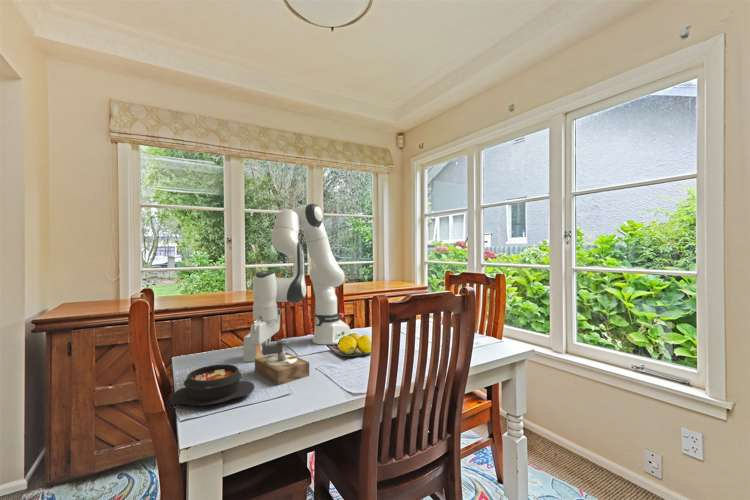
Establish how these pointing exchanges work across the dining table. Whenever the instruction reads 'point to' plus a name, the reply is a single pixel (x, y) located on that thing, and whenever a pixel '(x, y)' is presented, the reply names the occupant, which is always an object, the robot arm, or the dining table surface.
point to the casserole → (212, 386)
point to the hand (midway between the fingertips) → (265, 349)
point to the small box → (251, 350)
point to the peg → (276, 350)
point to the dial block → (281, 368)
